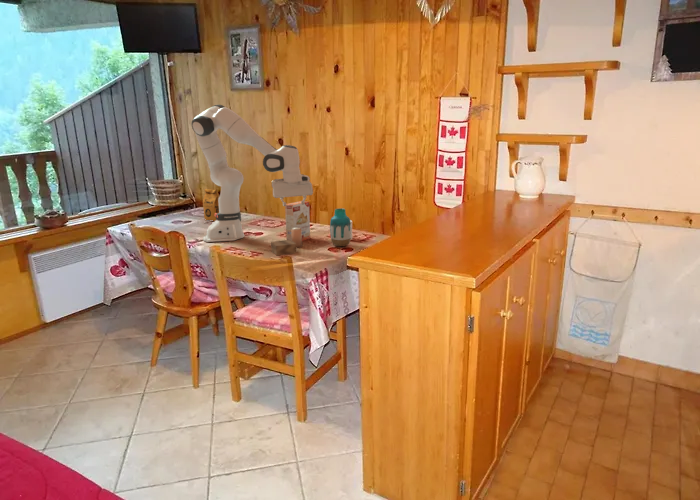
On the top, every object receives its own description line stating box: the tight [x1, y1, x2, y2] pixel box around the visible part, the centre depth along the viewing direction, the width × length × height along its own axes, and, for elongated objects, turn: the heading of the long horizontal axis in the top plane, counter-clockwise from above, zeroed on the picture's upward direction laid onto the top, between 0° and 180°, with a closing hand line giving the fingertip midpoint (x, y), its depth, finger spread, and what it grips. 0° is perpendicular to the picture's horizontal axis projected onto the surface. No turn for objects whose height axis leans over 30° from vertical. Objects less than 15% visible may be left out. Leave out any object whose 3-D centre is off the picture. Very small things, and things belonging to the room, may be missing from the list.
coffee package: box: [202, 188, 220, 221], centre depth 330 cm, size 10×12×22 cm
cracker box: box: [284, 200, 311, 242], centre depth 274 cm, size 14×6×21 cm, turn 147°
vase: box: [329, 207, 351, 247], centre depth 261 cm, size 11×11×19 cm
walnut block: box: [270, 239, 297, 256], centre depth 253 cm, size 10×10×5 cm
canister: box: [291, 227, 303, 249], centre depth 263 cm, size 5×5×10 cm
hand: (293, 205), depth 261 cm, fingers open, 8 cm apart
